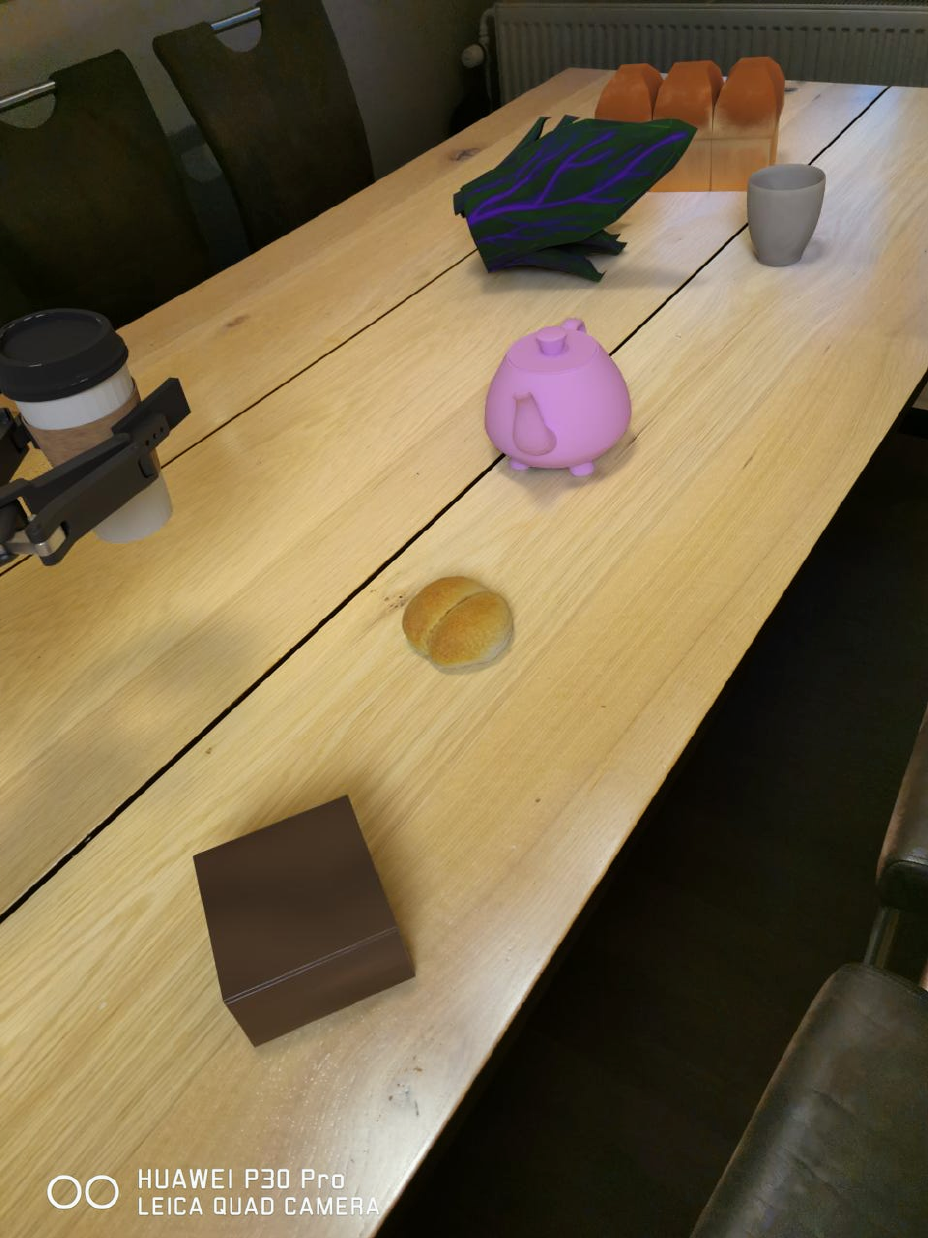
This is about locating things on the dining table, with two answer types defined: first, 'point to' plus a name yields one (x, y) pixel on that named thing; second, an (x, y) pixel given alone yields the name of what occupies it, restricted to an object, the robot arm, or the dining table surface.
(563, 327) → the teapot
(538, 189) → the decorative plant
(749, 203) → the mug
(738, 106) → the bread
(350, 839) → the riser
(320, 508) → the dining table surface
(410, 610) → the bread roll
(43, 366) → the coffee cup
